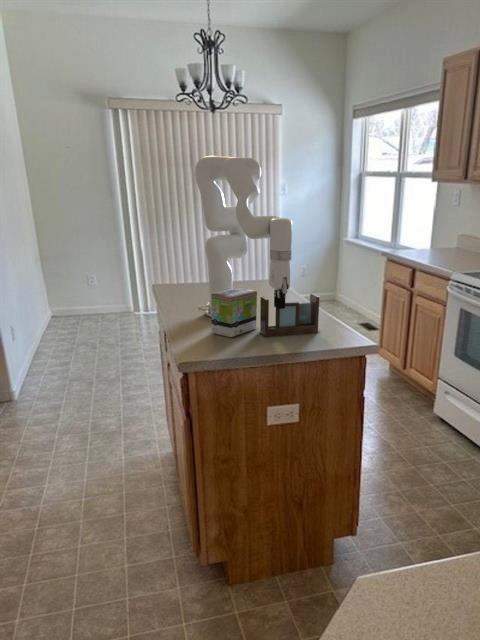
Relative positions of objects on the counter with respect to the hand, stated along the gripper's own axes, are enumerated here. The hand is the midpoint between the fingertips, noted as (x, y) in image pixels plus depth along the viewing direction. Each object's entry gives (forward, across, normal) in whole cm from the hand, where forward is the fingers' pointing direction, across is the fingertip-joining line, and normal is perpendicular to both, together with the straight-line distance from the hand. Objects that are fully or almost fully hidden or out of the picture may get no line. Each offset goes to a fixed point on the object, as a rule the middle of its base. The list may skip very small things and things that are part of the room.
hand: (279, 307), depth 191 cm
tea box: (+10, -8, -15) cm, 20 cm away
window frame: (+10, -2, +4) cm, 11 cm away
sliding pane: (+9, 0, +3) cm, 9 cm away
